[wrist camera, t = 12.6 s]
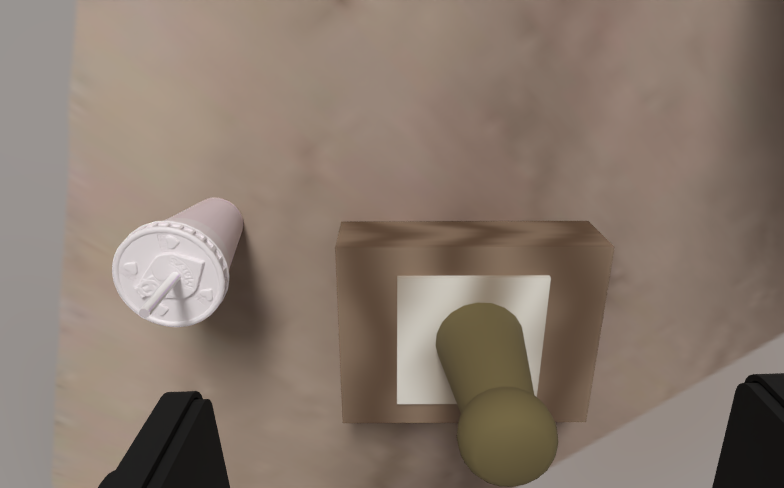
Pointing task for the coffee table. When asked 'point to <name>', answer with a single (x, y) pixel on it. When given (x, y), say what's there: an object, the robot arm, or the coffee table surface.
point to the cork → (495, 396)
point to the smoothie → (179, 264)
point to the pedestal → (458, 288)
